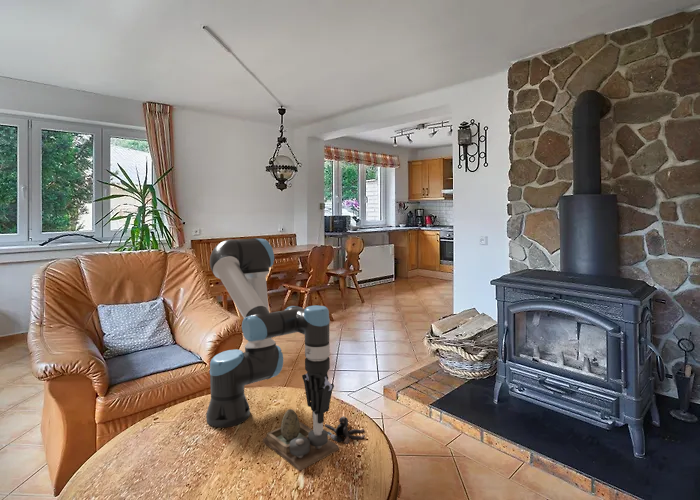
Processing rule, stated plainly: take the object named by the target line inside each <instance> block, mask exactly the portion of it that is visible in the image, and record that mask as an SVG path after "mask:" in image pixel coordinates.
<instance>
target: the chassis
mask: <svg viewBox="0 0 700 500" xmlns="http://www.w3.org/2000/svg"><path fill="white" fill-rule="evenodd" d="M299 424H300V432H299V435H298V436H297V438H295V439H293V440H291V441H287V440H286V439H284V438H283V436H282V433H281V426H280V427H278V428H276V429H274V430H272V431H269V432H267V433H266V436H265V437H263V438H262V443H264V444H265V445H266V446H268V448H270V449H271V450H272V451H274V452H275V453H276V454H277V455H279V456H280V457H282V458H283V459H284V460H286V461H287V462H288V463H289V464H291V465H292V466H293V467H294V468H296V470H298V471H302V470H304V469H306V468H308V467H309V466H311V465H313V464H315V463H317V462H318V461H320V460H322V459H324V458H325V457H327V456H330V455H331V454H333V453H335V452H337V451H339V450H340V446H339V445H338V444H336V443H335V442H333V441H332V440H330V439H329V438H328V442H327V443H326V444H325V445H322V446H313V445H311V444H310V441H309V440H308V434H309V432H310V431H311V430H313V428H311V427H309V426H308V425H306V424H304V423H303V422H301V421H299Z"/></svg>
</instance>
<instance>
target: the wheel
mask: <svg viewBox="0 0 700 500" xmlns="http://www.w3.org/2000/svg"><path fill="white" fill-rule="evenodd" d="M328 432H329V431H327V430H326V429H324V428H323V431H321V432H319V433H317V434H316V433H314V432H313V430H311V431H310V432H309V434H308V440H309V441H310V444H311V445H313V446H322V445H325V444H326V443H327V442H328V439H329V436H328Z"/></svg>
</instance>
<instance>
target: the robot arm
mask: <svg viewBox="0 0 700 500" xmlns="http://www.w3.org/2000/svg"><path fill="white" fill-rule="evenodd" d="M274 253H275V252H274V249H273V247H272V245H271V244H270V243H269V241H268V240H267V239H265V238H257V237H255V238H241V239H240V238H238V239H233V238H232V239H226V240H223V241H221V242H219V243H218V244H217V245H216V246H214V248H213V250H212V251H211V253H210V256H209V267H210V270H211V271H212V274H213V275H214V277H215V278H216V279H219V280H220V281H221V283H222V285H223V286H224V288H225V289H226V291H227V293H228V294H229V296H230V298H231V300H232V301H233V303H234V304H235V306H236V308H237V309H238V311H239V314H241V316H242V318H243V319H242V322H241V331H242V335H243V337H244V339H245V340H247V342H246V344H245V345H244V352H243V351H242V350H241V349H236V348H235V349H228V350H223V351H222V352H219V353H217V354H215V355H214V356H213V357H212V358H211V359H210V362H209V376H210V378H209V380H210V385H209V386H210V401H209V404H208V407H207V411H206V414H205V416H206V423H207V424H208V425H209V426H212V427H215V428H228V427H230V428H231V427H234V426H237V425H240V424H242V423H243V422H245V421H246V420H247V419H248V418H249V417H250V414H251V413H250V412H251V411H250V408H251V407H250V405H249V403H248V402H249V401H248V400H247V397H246V395H245V386H247V385H251V384H254V383H258V382H261V381H265V380H269V379H272V378H274V377H277V376H278V375H280V373H281V371H282V370H283V367H284V353H283V352H282V349H281V347H280V346H279V345H277V342H276V341H275V340H274V338H275V337H281V336H285V335H290V334H295V333H299V334H302V335H304V356H305V358H304V369H305V372H306V373H304V374H302V375H301V378H302V381H303V384H304V391H305V396H306V397H305V398H306V403H307V407H309V408H310V410H311V412H312V413H311V414H312V415H311V416H312V424H313V426H312V427H313V428H312V429H313V432H314V433H316V434H317V433H319V432H321V431H323V429H324V421H325V417H324V416H325V415H324V414H325V413H327V412H329V411H330V405H331V400H332V399H331V398H332V393H333V390H334V388H335V384H334V383H330V380H329V375H328V373H329V370H330V368H331V363H330V362H331V361H330V356H331V354H330V353H331V352H330V351H331V349H330V348H331V345H330V343H331V342H330V322H331V320H330V311H329V308H328V307H327V306H325V305H309V306H307V307H305V308H303V307H301V306H299V305H290V306H287V307H286V308H285V309H283V310H280V311H273V312H271V311H270V309H269V299H268V297H269V296H268V288H267V286H268V285H267V275H269V273H270V268H271V267H272V266H273V265H274V262H275V254H274Z"/></svg>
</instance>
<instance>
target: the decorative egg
mask: <svg viewBox="0 0 700 500" xmlns="http://www.w3.org/2000/svg"><path fill="white" fill-rule="evenodd" d="M299 422H300V420H299V418H298V415H297V412H295V410H294V409H291V408H290V409H287V410H286V411H285V413H284V415H283V417H282V419H281V424H280V425H281V426H280V427H281V433H282V436H283V438H284V439H286V440H287V441H291V440H293V439H295V438H297V436H298V435H299V432H300V424H299Z"/></svg>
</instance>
